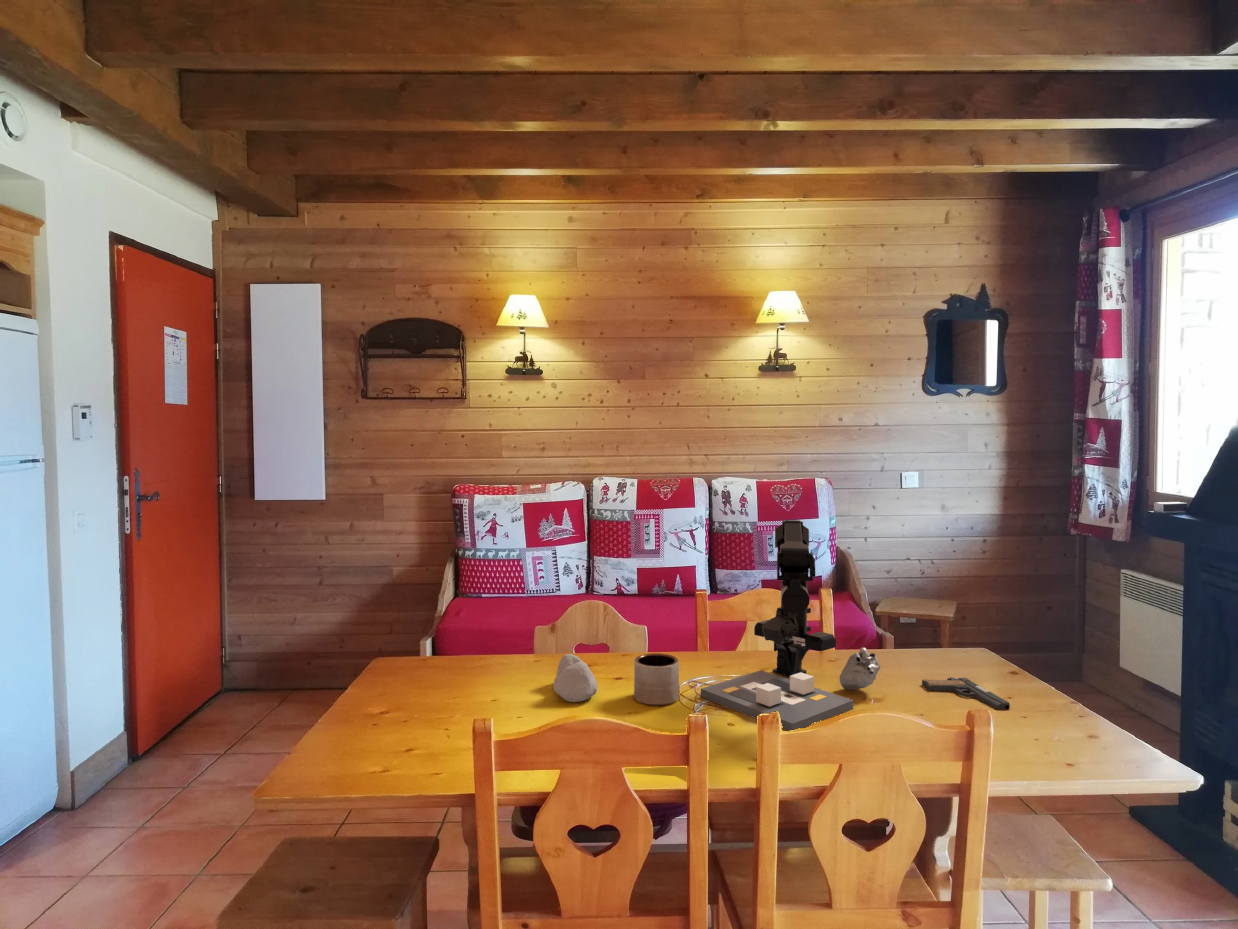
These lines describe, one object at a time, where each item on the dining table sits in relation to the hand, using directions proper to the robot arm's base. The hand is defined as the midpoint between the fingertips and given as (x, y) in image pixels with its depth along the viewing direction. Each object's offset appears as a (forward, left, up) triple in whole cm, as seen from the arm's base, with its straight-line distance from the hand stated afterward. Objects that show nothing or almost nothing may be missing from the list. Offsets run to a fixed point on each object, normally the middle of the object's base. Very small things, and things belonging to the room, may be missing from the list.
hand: (793, 673), depth 175 cm
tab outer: (0, -7, -8) cm, 11 cm away
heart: (-28, -2, -11) cm, 30 cm away
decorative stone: (+28, -46, -11) cm, 55 cm away
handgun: (-44, +16, -12) cm, 48 cm away
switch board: (-6, -10, -11) cm, 16 cm away
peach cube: (-12, -7, -8) cm, 16 cm away
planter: (+14, -30, -11) cm, 35 cm away
